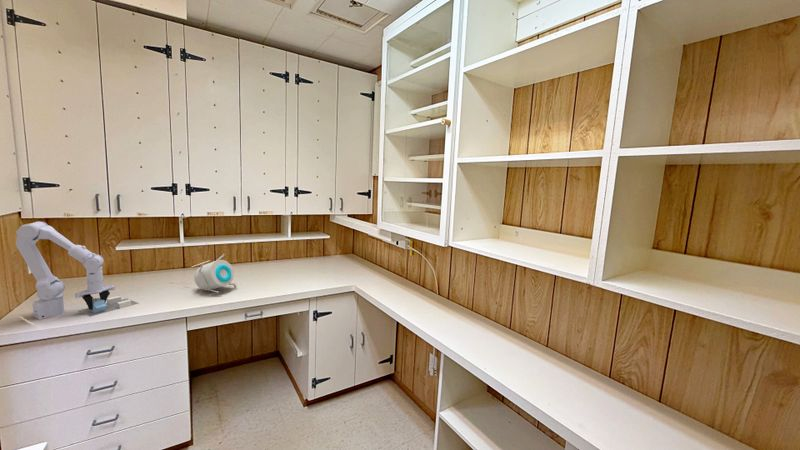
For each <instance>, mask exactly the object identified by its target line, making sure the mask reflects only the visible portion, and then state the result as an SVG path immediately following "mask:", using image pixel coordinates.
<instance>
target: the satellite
mask: <svg viewBox="0 0 800 450" xmlns="http://www.w3.org/2000/svg"><path fill="white" fill-rule="evenodd" d="M224 257H225V253H223V254H222V255H220V256H219V258H217V259H216V260H215V261H212V262H211V259H209V260H206V261H203V262H200V263H198V264H195V265H193V266H191V268H194V267H196V266H199V265H200V267H198V268H196V270H195V272H194V283H195V285H196V286H197V287H198V288H199V289H201V290H202V291H209V292H214V293H212V294H210V296H211V295H215V294H219V293H221V292H222V291H221V290H216V289H219V288H223V287H226V286H234V285H235V286H237V285H238V284H237V283H236V282H233V280H234V277H235V272H234V268H233V266H232V264H231V263H229V261H227V260H225V259H222V258H224ZM206 263H207V264H206ZM232 282H233V283H232ZM235 286H234V287H235Z"/></svg>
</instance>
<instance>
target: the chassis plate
mask: <svg viewBox="0 0 800 450" xmlns="http://www.w3.org/2000/svg"><path fill="white" fill-rule="evenodd" d="M105 304H106V305H107V306H106V307H105V310H104V311H100V312H96V313H94V312H92V311H89V310H88V307H87V308H83V309H80V310H77V312H78V313H80V314H81V313H82V314H83V315H86V316H88V317H94V316H99V315H101V314H105V313H109V312H112V311H115V310H120V309H123V308H127V307H131V306H135V305H137V304H138V305H139V304H140V302H138V301H134V300H132V299H128V298H123V299H122V297H121V296H119V295H116V296H113V297H107V300H106V302H105Z"/></svg>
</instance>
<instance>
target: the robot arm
mask: <svg viewBox="0 0 800 450" xmlns="http://www.w3.org/2000/svg"><path fill="white" fill-rule="evenodd" d="M15 233H16V239H15V240H16V241H15V247H16V248H17V250H18V251H19V253H20V255H21V257H22V258H23V260H24V261H25V263H26V265H27V266H28V268H29V270H30V271H31V272H30V273H31V274H32V275H33V278H34V279H35V280H36V283H35V285H34V286H35V289H36V296H37V297H38V298H39V299H37V300H35V301H33V302H32V312H33V313H32V314H33V317H34V318H36V319H38V321H39V320H44V319H47V318H52V317H57V316H61V315H63V314H64V313H65V301H64V294H63V292H64V291H65V289H66V285H65V283H64V282H63V281H61V280H60V279H59V278H58V277H57V276H55V275H54V274H53V273H52V272H51V269H50V268H49V266H48V264H47V262H46V261H45V259H44V257H43V256H42V253H41V252H40V250H39V249H38V247H37V245H36V244H37V242H38V241H39V240H50V241H51V242H53V244H56V245H58V246H59V247H62V248H63V249H65V250H66V251H67V254H68V255H69V256H70V257H72V258H74V259H75V260H77V261H78V262H80V263H81V264H82V266H83V268H84V269H86V270H85V272H86V274H85V275H86V286H87V287H86V290H82V291H79V292H75V293H74V298H76V299H79V298H82V299H83V300H84V301H85V304H86V303H87V304H86V305H87V308H89V309H90V310H93V304H92V301H93V298H94V296H92V295H95V294H98V295H99V298H100V299H103V300H105V303H107V298H109V296H110V293H111V292H110V291H115V290H116V286H115V285H107V286H104V272H103V264H104V263H105V259H104V257H103V256H102V255H101V254H96V253H95V252H91V250H89V249H87V247H86V245H81V244H74V242H72V241H70V240H69V239H68V238H66V237H65V236H64V235H63V234H61V233H59V232H58V231H57V230H56V229H55V228H54V227H53V226H51V225H48V223H46V222H45V221H35V222H32V223H31V222H30V223H25V224H23V225H20V226H19V227H18V229H17V230H16V231H15Z"/></svg>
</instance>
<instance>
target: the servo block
mask: <svg viewBox="0 0 800 450" xmlns="http://www.w3.org/2000/svg"><path fill="white" fill-rule="evenodd" d="M85 304H86V305H87V303H86V302H85ZM92 304H93V310H90V309H89V308H88V307H87V308H88V310H89V311H92V312H94V313H96V312H100V311H104V310H105V307H106V306H107V305H106V302H105V300H103V299H100V297H93V301H92Z"/></svg>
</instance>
